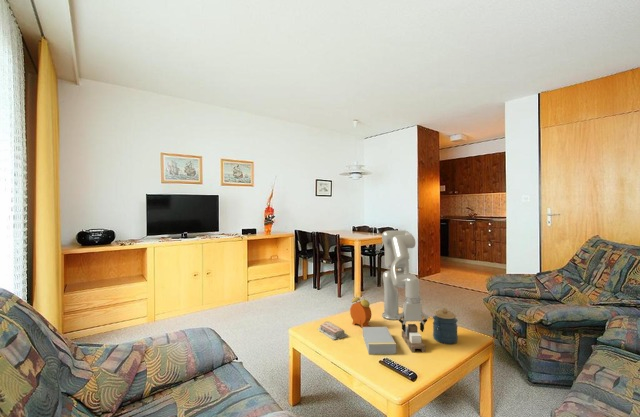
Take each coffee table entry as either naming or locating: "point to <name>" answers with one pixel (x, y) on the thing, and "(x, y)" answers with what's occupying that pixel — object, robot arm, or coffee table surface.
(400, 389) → the coffee table surface
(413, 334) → the block
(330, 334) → the packaged product
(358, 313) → the alarm clock
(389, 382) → the coffee table surface
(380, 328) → the dock
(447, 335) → the canister
